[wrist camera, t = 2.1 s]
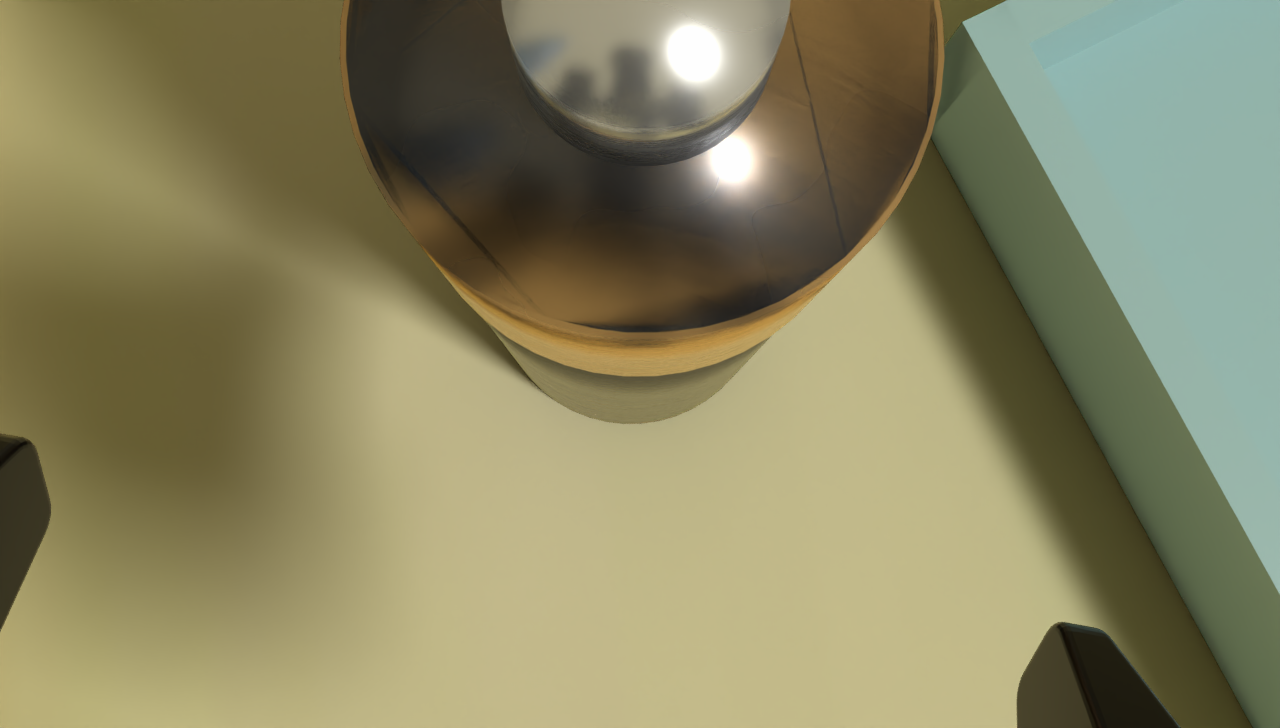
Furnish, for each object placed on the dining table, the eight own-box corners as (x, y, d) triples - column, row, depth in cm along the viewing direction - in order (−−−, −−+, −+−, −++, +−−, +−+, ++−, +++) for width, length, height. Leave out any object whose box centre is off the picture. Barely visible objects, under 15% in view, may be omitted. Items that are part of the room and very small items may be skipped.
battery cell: (813, 351, 22) (1102, 134, 9) (569, 473, 21) (490, 440, 8) (689, 115, 22) (788, -425, 9) (449, 231, 22) (196, -159, 9)
